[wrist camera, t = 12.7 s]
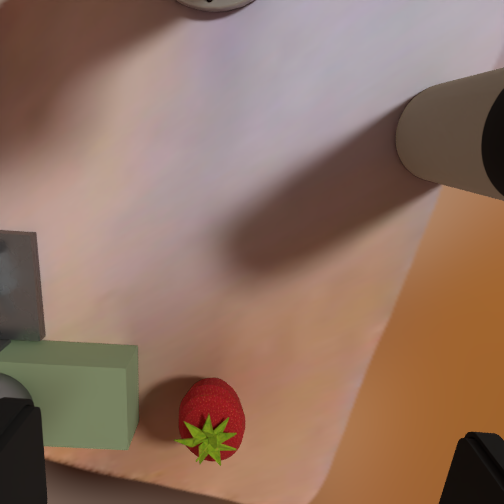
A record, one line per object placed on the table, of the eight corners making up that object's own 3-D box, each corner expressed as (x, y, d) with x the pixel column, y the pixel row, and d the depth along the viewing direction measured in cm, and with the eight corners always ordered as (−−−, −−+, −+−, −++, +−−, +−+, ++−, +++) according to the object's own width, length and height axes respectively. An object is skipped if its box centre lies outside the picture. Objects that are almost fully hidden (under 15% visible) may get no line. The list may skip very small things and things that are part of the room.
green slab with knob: (-111, 328, 38) (-174, 362, 33) (137, 342, 39) (118, 378, 33) (-94, 409, 41) (-149, 454, 35) (138, 421, 42) (121, 466, 36)
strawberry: (196, 419, 42) (181, 504, 32) (179, 357, 40) (158, 429, 30) (251, 410, 42) (252, 492, 32) (237, 347, 39) (234, 416, 30)
